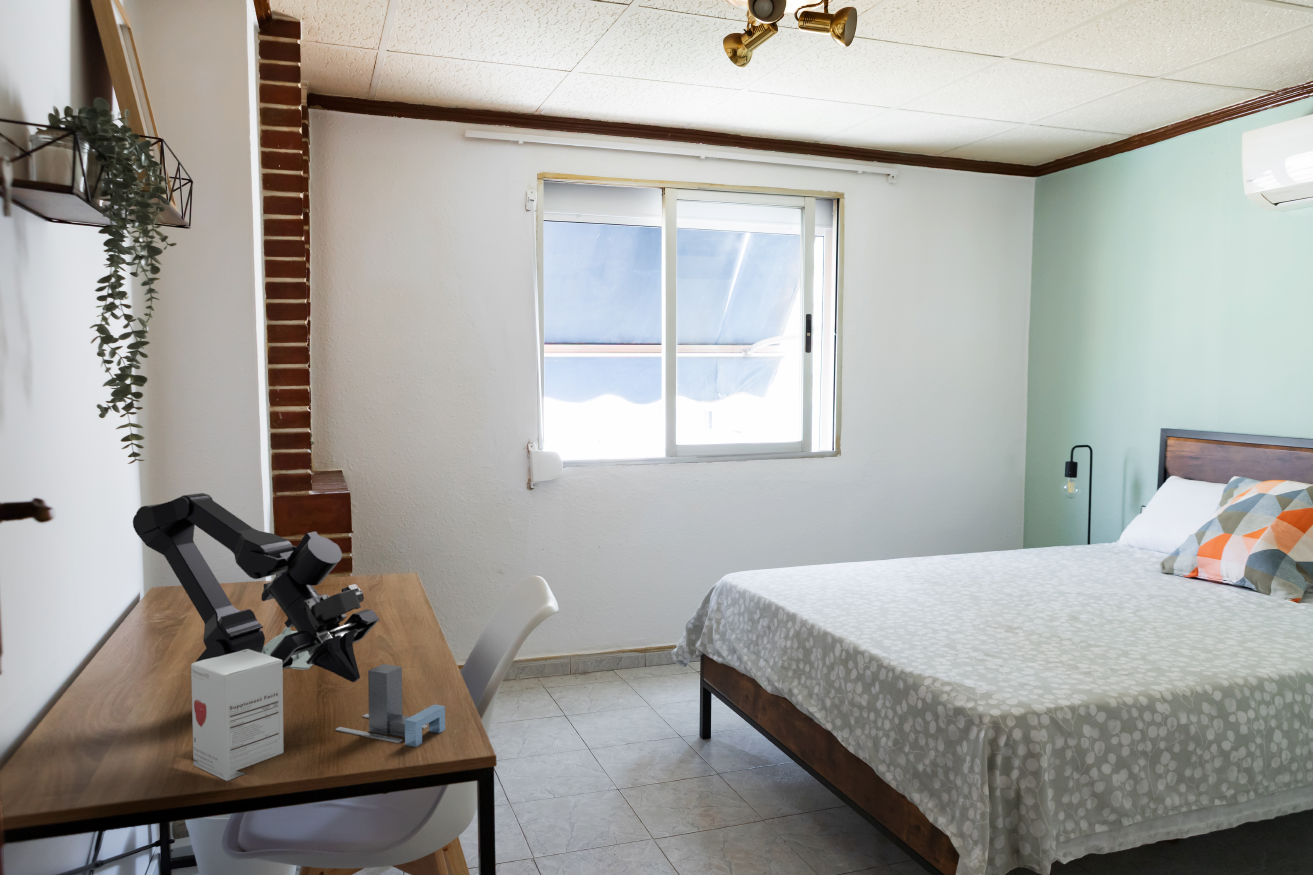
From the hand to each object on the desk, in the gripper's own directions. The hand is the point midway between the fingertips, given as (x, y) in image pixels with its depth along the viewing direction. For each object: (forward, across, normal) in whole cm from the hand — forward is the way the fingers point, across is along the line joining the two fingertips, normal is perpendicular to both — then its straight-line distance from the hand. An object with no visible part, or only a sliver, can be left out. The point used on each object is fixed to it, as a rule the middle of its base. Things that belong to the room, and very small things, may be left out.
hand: (356, 680), depth 138 cm
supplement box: (+1, -16, +11) cm, 20 cm away
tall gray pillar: (+10, 0, 0) cm, 10 cm away
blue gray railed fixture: (+10, 0, +1) cm, 10 cm away
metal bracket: (-21, +24, +33) cm, 46 cm away
